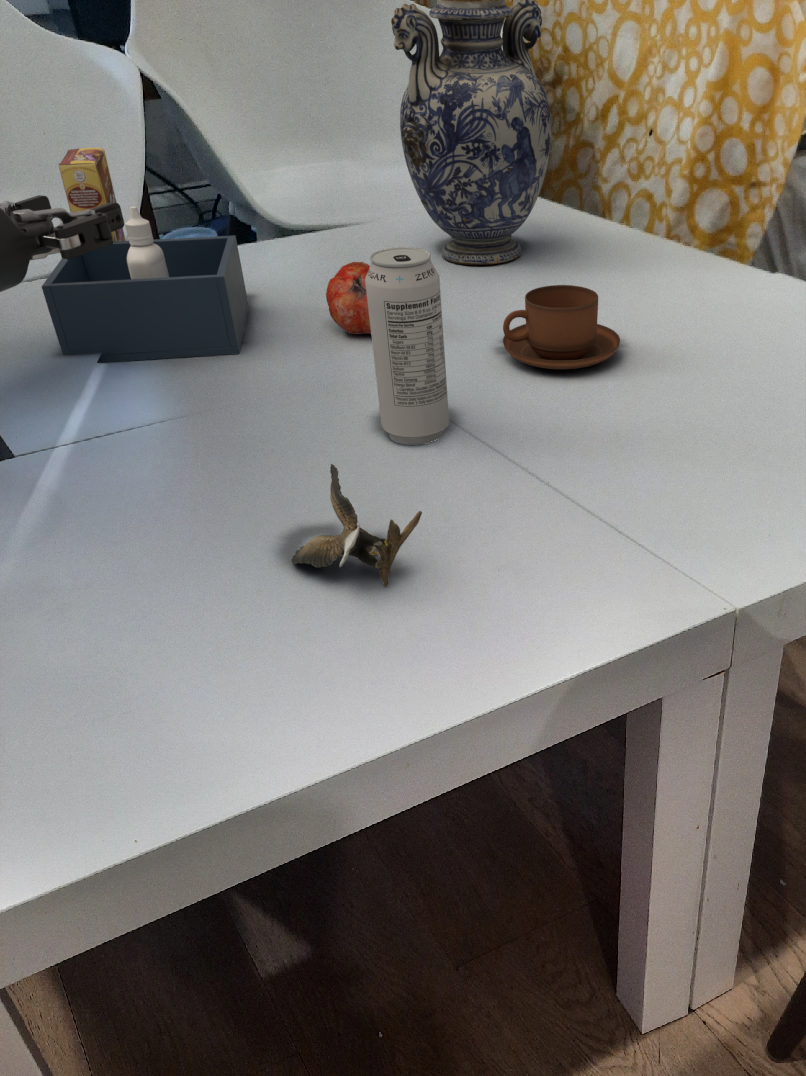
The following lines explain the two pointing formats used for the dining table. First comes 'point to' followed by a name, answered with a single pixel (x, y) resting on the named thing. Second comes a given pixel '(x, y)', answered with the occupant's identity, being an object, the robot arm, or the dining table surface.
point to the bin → (151, 302)
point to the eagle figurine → (353, 538)
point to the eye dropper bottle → (143, 249)
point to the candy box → (88, 181)
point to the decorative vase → (474, 122)
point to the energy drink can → (408, 344)
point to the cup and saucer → (560, 329)
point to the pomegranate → (350, 298)
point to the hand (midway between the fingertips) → (83, 210)
